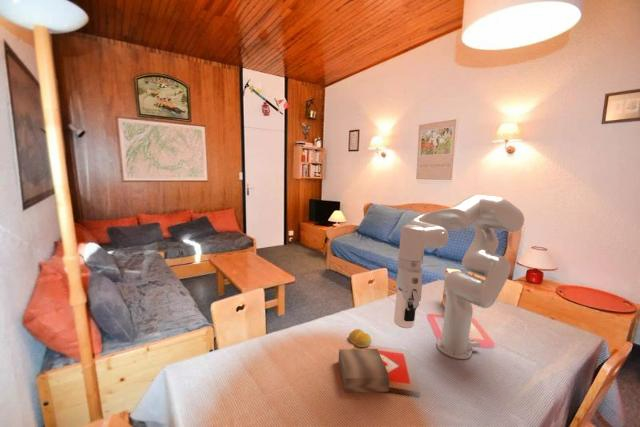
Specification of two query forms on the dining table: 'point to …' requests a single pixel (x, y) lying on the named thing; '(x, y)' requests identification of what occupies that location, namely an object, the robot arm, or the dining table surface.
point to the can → (402, 311)
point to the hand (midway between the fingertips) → (404, 314)
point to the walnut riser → (363, 371)
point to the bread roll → (360, 338)
